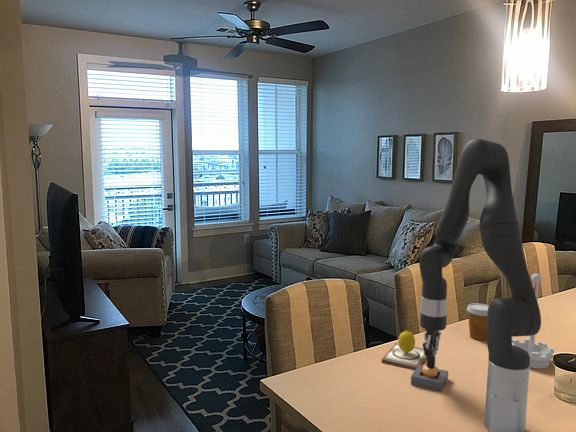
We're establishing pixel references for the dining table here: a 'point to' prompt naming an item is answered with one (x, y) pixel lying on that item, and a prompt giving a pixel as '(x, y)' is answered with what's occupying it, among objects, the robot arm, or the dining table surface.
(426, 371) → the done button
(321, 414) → the dining table surface
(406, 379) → the dining table surface
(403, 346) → the lemon
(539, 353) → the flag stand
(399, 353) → the drawing board
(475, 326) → the disposable coffee cup
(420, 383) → the button housing
